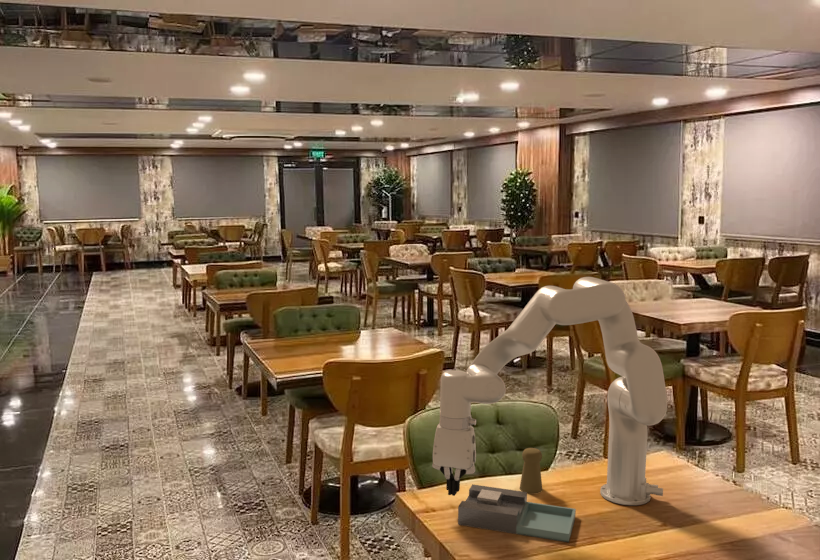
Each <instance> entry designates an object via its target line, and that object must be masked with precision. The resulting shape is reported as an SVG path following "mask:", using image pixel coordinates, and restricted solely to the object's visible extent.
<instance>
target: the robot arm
mask: <svg viewBox="0 0 820 560" xmlns="http://www.w3.org/2000/svg"><path fill="white" fill-rule="evenodd" d="M625 295H626V294H625V292H624V290H623V289H622V287H620V285H618V284H616V283H614V282H612V281H609V280H604V279H601V278H598V277H593V276H584V277H580V278H579V279H577V280H576V281H575V282H574V283H573V286H572V288H571V289H568V288H566V289H565V288H563V287H560V286H556V285H545V286H542V287H540V288H539V289H538V290H537V291H536V292H535V293H534V295H533V296H532V297H531V298H530V300H529V301H528V302H527V304H526V305H525V306H524V308H523V309H522V310H521V311H520V313H519V314H518V315H517V316H516V318H515V319H514V320H513V321H512V323H511V324H510V326H509V327H508V328H507V329H506V330H504V331H503V332H502V333H501V334H499V335H498V336H497V337H495V338H494V339H493V340H491V341H490V342H489V343H487V344H486V345H485V346H484V347H483V348H482V349H481V350H480V352H479V353H478V354H477V356H475V358H474V359H473V360H472V362H471V363H470V365H468V367H467V369H466V371H464V370H458V369H457V370H456V369H454V370H452V369H451V370H447V371H444V372H443V373H442V374H441V376H440V389H439V390H440V393H439V395H440V396H439V397H440V399H439V423H438V424H437V426H436V429H435V433H434V440H433V447H432V465H431V467H432V468H434V469H435V470H437V471H440V472H441V473H442V474H443V476H444V478H445V479H446V490H447V495H448V496H453V497H455V496H456V494H457V493H459V491H460V489H461V487H460V485H461V478H463V476H464V475H472V474H474V473H475V472H476V467H475V466H476V465H475V464H476V460H477V459H476V458H477V451H476V450H477V448H476V434H475V433H476V432H475V429H474V426H476V424H477V419H475V418H472V414H471V411H472V403H475V404H476V403H477V404H483V405H485V404H486V405H492V404H496V403H499V402H500V401H501V400H502V399H503V398H504V397H505V396H506V395H505V394H506V384H505V382H504V380H503V379H502V377H500V376H499V375H498V374H499V373H500V372H501V370H502V369H503V368H504V367H505V365H507V364H508V363H509V362H511V361H512V360H514V359H515V358H517V357H518V358H519V357H521V356H525V355H529V354H531V353H533V352H535V351H536V350H537V349H538V348H539V346H540V345H541V343H542V342H544V339H546V337H547V336H548V335H549V333H550V332H551V331H552V329H553V328H554V327H555V325H560V326H571V325H577V324H584V323H589V322H590V323H591V322H595V321H598V323H599V326H600V332H601V335H602V336H601V337H602V341H603V348H604V355H605V359H606V363H607V367H608V368H609V369H610V371H612V372H614V373H615V374H617V375H619V376H620V377H617V378H615V379H614V380H613V381H612V382H611V383H610V385H609V387H608V390H607V394H606V395H607V407H608V417H609V418H608V419H609V422H608V423H609V425H608V426H609V429H608V430H609V431H608V445H607V446H608V448H607V449H608V450H607V451H608V452H607V469H606V470H607V471H606V473H607V474H606V484H603V485H602V486H601V487H600V491H599V493H600V495H601V497H602V498H604V499H605V500H607V501H609V502H611V503H614V504H618V505H624V506H641V505H645V504H647V503H649V502H650V500H651V495H653V496H654V495H655V496H659V497H660V496H661V497H663V496H664V488H663V487H659V485H658V484H651V483H650V484H649V482H647V477H646V469H647V468H646V466H647V452H648V451H647V450H648V449H647V448H648V447H647V446H648V445H647V444H648V426H654V425H657V424H659V423H660V422H661V421H662V420H664V418H665V416H666V413H667V411H668V395H667V388H666V382H665V376H664V369H663V364H662V362H661V358H660V357H659V355H658V353H657V352H656V350H654V349H653V348H652V347H650V345H646V344H644V343H642V342H641V341H640V339H639V336H638V330H637V326H636V321H635V317H634V314H633V311H632V308H631V307H630V305H629V303H628V301H627V300H626V296H625ZM473 425H474V426H473ZM453 469H455V471H454V474H453Z"/></svg>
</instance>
